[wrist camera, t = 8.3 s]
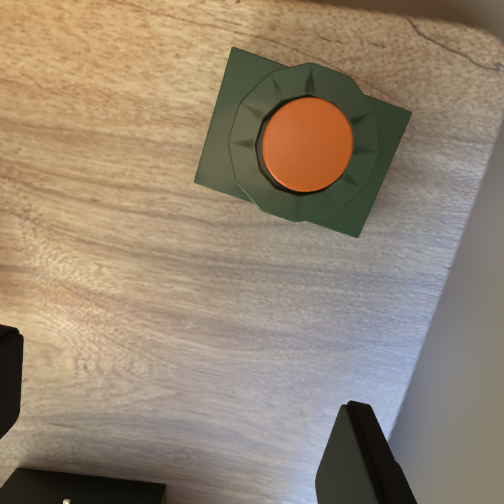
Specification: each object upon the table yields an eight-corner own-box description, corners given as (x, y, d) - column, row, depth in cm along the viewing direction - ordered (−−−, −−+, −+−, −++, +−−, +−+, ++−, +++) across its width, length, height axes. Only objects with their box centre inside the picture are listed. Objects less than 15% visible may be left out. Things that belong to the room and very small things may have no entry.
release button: (356, 120, 15) (368, 115, 13) (325, 198, 16) (333, 203, 14) (278, 92, 14) (280, 83, 13) (252, 173, 15) (250, 175, 14)
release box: (399, 116, 17) (432, 106, 14) (350, 232, 19) (368, 247, 16) (234, 56, 17) (228, 30, 14) (199, 180, 19) (185, 185, 15)
